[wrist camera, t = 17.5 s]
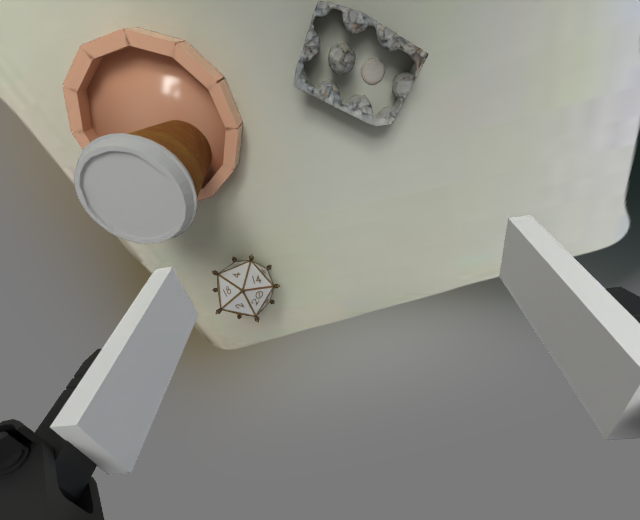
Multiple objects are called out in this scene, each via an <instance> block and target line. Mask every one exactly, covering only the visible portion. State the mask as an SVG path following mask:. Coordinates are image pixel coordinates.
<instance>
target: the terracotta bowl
mask: <svg viewBox="0 0 640 520" xmlns="http://www.w3.org/2000/svg"><path fill="white" fill-rule="evenodd" d="M223 77H224V76H223V75H222V74H221V73H220V72H219V71H218V70H217V69H215V68H214V67H213V66H212V65H211V64H210V63H209V62H208V61H207V60H206V59H205V58H204V57H203V56H201V55H200V54H199V53H198V52H197V51H196V50H195V49H194V48H193V47H192V46H191V45H190V44H189V43H188V42H185V40H181V39H178V38H174V37H170V36H167V35H163V34H159V33H156V32H152V31H148V30H145V29H141V28H125V29H120V30H118V31H115V32H113V33H110V34H108V35H105V36H103V37H100V38H98V39H95V40H93V41H90V42H88V43H85V44H83V45H82V46H80V48H79V50H78V52H77V55H76V57H75V59H74V61H73V63H72V66H71V68H70V70H69V72H68V74H67V77H66V79H65V81H64V83H63V85H64V86H63V90H64V96H65V101H66V107H67V112H68V118H69V123H70V129H71V131H72V132H73V133H72V134H73V136H74V137H75V139H76V140H77V141H78V143H79V144H80V146H81V147H82V149H84V148H85V147H86V146H87V145H88V144H89V143H90V142H92V141H93V140H95V139H97V138H99V137H101V136H105V135H109V134H118V133H124V134H128V133H131V132H135V131H138V130H141V129H144V128H147V127H151V126H154V125H157V124H160V123H164V122H167V121H171V120H180V121H184V122H187V123H190V124H191V125H193V126H195V127H196V128H197V129H199V130H200V131H201V132H202V134H203V135H204V136H205V137H206V139H207V140H208V142H209V145H210V148H211V152H212V160H211V164H210V166H209V169H208V171H207V174H206V177H205V179H204V182H203V184H202V187H201V189H200V192H199V195H198V197H197V201H200V200H203V199H207V198H210V197H211V196H213V195H214V194H215V192H216V191H217V190H218V189H219V188H220V186H221V185H222V184H223V183H224V182H225V180H226V179H227V178H228V177H229V176H230V174H231V173H232V172H233V171H234V169H235V167H236V166H237V164H238V162H239V157H240V147H241V138H242V128H243V123H242V122H243V121H242V118H241V116H240V113H239V111H238V108H237V106H236V103H235V101H234V99H233V96H232V94H231V91H230V89H229V86H228V84H227V81H226V79H223Z"/></svg>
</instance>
